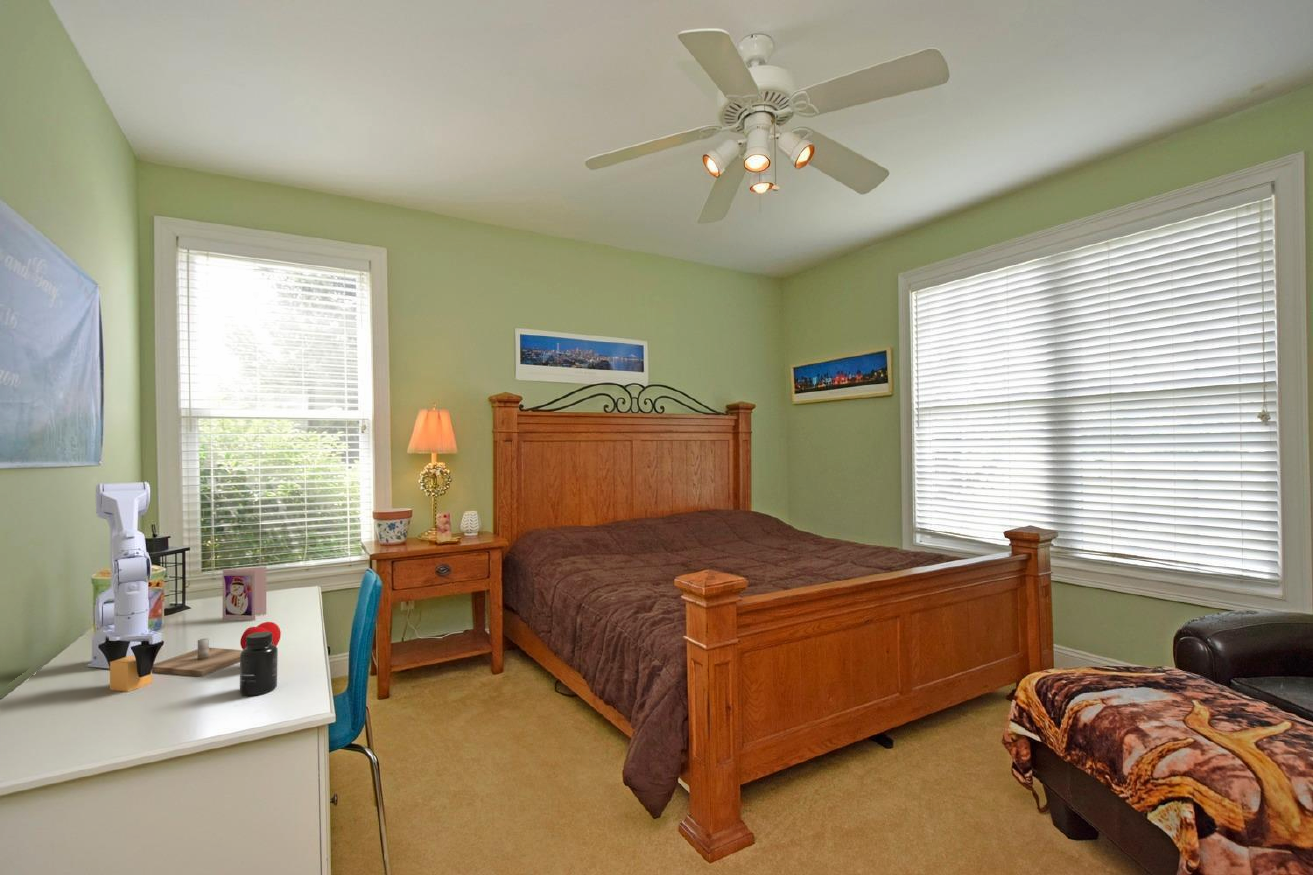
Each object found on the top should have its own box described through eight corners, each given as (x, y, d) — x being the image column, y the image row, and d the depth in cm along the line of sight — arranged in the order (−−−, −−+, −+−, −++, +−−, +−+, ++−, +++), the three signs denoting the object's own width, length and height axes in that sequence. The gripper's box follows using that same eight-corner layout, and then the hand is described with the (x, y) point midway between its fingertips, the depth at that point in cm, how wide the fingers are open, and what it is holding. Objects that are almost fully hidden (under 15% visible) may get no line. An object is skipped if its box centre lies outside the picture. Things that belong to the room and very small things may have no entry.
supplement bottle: (237, 699, 127) (237, 641, 128) (241, 688, 134) (241, 632, 134) (276, 692, 131) (276, 636, 131) (278, 682, 137) (278, 628, 137)
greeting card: (220, 619, 188) (220, 570, 188) (240, 613, 195) (240, 566, 195) (252, 621, 186) (252, 571, 186) (272, 614, 193) (272, 566, 193)
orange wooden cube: (109, 689, 133) (110, 661, 133) (134, 681, 138) (134, 654, 138) (127, 691, 132) (127, 663, 132) (151, 682, 137) (151, 655, 137)
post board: (147, 671, 144) (147, 646, 144) (204, 651, 158) (204, 629, 158) (202, 676, 141) (202, 651, 141) (255, 656, 154) (255, 633, 154)
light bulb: (257, 674, 141) (257, 631, 141) (231, 672, 143) (231, 629, 143) (288, 660, 150) (288, 619, 151) (264, 659, 152) (264, 618, 152)
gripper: (85, 615, 133) (85, 678, 133) (137, 618, 130) (137, 683, 130) (121, 607, 140) (120, 667, 140) (171, 610, 137) (171, 671, 136)
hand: (131, 674), depth 135 cm, fingers open, 7 cm apart
